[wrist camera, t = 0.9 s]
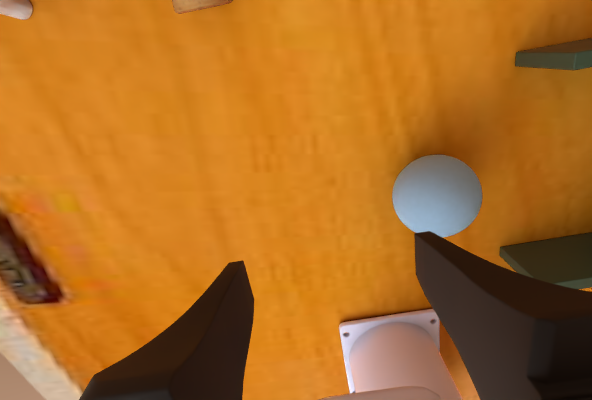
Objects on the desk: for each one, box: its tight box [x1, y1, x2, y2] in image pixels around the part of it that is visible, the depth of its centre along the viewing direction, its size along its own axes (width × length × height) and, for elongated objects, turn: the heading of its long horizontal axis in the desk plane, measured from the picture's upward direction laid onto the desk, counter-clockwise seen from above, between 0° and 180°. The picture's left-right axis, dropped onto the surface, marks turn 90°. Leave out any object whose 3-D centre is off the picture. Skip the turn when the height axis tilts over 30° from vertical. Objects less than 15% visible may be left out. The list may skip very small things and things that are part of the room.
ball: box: [392, 154, 482, 237], centre depth 20 cm, size 5×5×5 cm
